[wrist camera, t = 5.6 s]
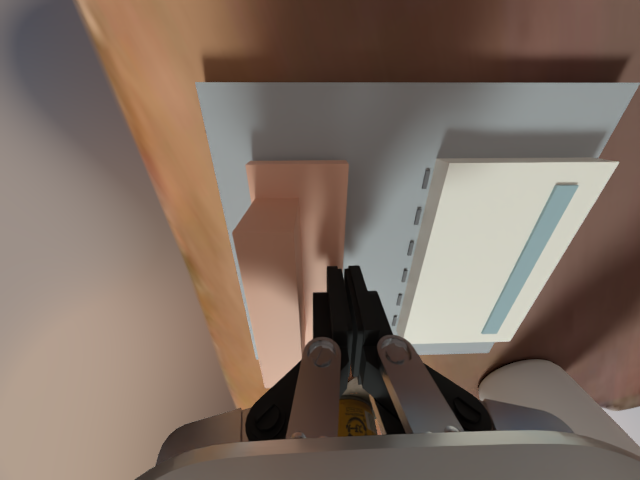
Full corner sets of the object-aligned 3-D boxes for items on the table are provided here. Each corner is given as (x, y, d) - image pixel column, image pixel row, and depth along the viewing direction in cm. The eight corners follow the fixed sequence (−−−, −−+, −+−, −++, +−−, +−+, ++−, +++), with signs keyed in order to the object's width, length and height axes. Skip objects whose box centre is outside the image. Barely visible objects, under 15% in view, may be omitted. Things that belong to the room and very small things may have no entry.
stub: (250, 160, 10) (215, 187, 7) (346, 160, 11) (365, 185, 7) (275, 336, 16) (264, 403, 12) (337, 334, 16) (344, 400, 13)
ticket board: (205, 85, 10) (178, 77, 8) (613, 85, 11) (684, 78, 8) (258, 347, 19) (252, 376, 17) (480, 341, 19) (500, 368, 17)
